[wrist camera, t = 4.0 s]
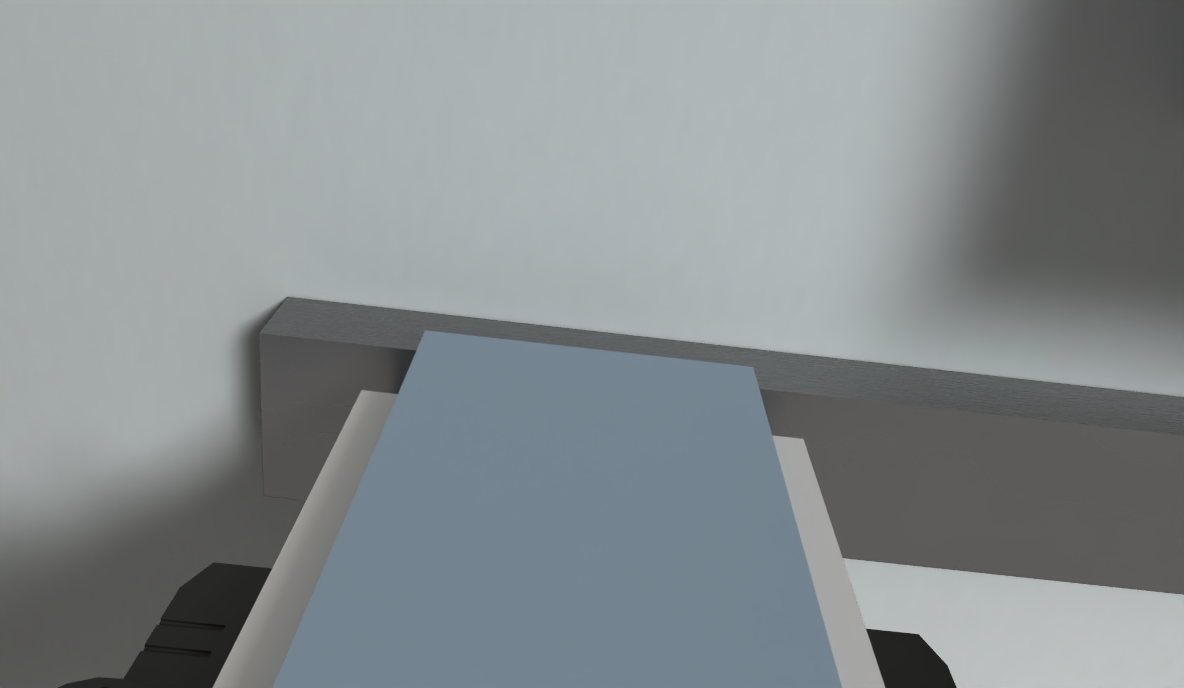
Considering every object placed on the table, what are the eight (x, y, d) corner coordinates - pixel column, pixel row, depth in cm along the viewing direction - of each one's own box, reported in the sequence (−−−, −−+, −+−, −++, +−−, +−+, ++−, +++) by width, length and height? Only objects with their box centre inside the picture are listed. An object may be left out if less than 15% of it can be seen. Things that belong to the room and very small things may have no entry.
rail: (289, 464, 18) (209, 607, 15) (287, 280, 17) (197, 389, 13) (1570, 602, 19) (1793, 772, 15) (1676, 436, 18) (1951, 582, 14)
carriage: (414, 547, 17) (181, 1313, 8) (425, 330, 15) (147, 983, 6) (710, 579, 17) (815, 1371, 8) (753, 366, 15) (945, 1061, 6)
